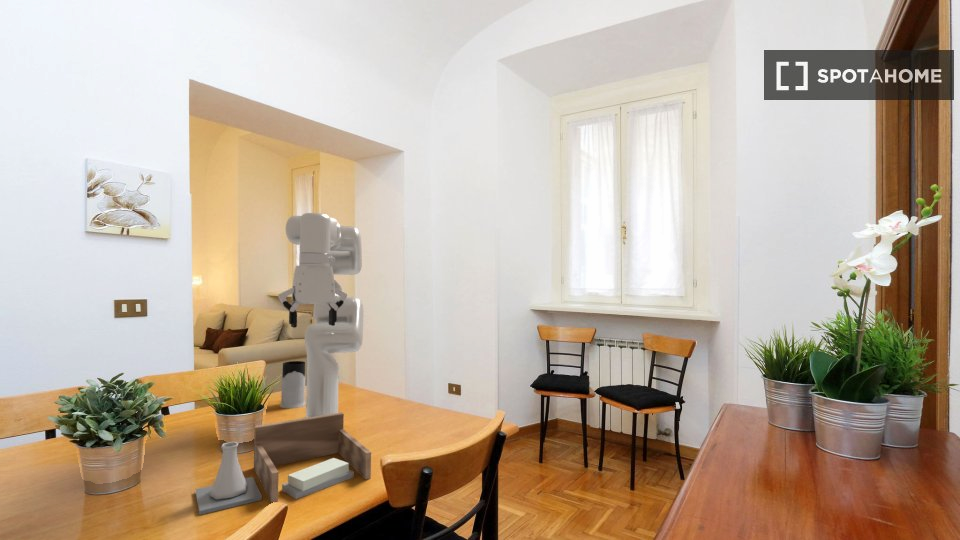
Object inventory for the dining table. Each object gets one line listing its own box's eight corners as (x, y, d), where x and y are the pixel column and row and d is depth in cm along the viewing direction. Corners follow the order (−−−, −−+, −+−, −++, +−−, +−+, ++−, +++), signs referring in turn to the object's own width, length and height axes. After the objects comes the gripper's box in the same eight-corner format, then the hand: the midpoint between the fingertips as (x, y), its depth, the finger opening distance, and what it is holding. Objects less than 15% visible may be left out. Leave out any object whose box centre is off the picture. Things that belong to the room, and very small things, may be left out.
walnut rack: (253, 467, 111) (254, 426, 111) (340, 449, 123) (341, 412, 123) (271, 503, 94) (272, 453, 94) (370, 478, 106) (371, 434, 106)
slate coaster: (195, 492, 98) (195, 489, 98) (252, 480, 104) (252, 476, 104) (199, 515, 89) (199, 510, 89) (261, 499, 95) (261, 496, 95)
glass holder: (280, 409, 159) (281, 365, 160) (279, 399, 172) (280, 359, 172) (307, 406, 163) (307, 364, 163) (304, 397, 176) (305, 357, 176)
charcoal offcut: (281, 493, 100) (282, 484, 100) (338, 473, 110) (338, 464, 110) (296, 502, 96) (296, 492, 96) (353, 480, 106) (353, 471, 107)
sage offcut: (287, 484, 100) (288, 474, 100) (333, 466, 109) (333, 457, 110) (303, 491, 97) (303, 481, 97) (348, 471, 106) (348, 463, 107)
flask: (243, 481, 102) (245, 435, 102) (251, 493, 96) (252, 445, 96) (206, 490, 97) (207, 442, 97) (211, 503, 91) (213, 453, 92)
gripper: (342, 262, 129) (341, 323, 128) (276, 259, 119) (274, 326, 118) (351, 261, 122) (350, 326, 122) (282, 259, 112) (281, 329, 112)
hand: (313, 326), depth 120 cm, fingers open, 9 cm apart
